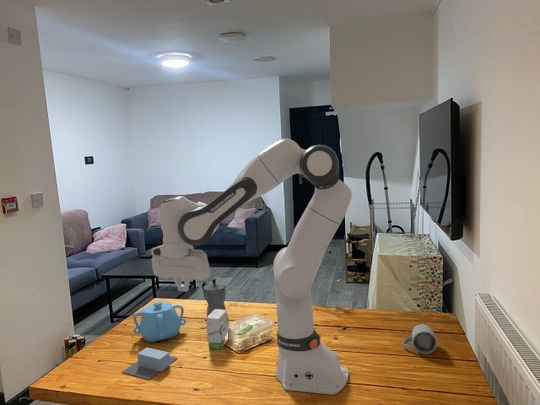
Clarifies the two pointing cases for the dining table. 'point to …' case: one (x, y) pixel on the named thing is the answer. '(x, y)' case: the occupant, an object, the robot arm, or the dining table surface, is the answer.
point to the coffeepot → (214, 295)
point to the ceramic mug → (421, 339)
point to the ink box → (217, 328)
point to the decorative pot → (159, 321)
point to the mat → (143, 370)
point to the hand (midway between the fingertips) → (183, 290)
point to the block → (154, 359)
